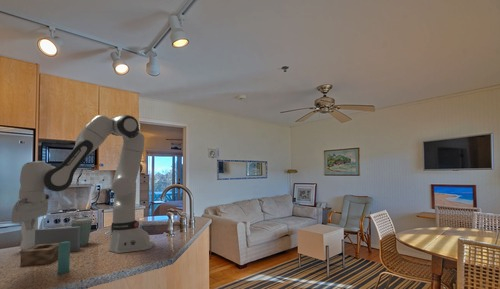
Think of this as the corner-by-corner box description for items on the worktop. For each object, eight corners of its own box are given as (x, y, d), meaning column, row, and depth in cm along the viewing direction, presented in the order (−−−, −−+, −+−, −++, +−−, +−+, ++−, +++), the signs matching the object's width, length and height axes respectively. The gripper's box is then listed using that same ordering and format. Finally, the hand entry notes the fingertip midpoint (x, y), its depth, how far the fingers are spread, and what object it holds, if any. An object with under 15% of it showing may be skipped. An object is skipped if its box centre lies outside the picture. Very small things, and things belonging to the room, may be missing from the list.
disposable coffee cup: (95, 241, 158) (96, 216, 159) (85, 247, 147) (85, 219, 149) (77, 242, 158) (78, 216, 159) (65, 247, 147) (66, 220, 148)
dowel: (70, 269, 114) (71, 240, 115) (66, 273, 110) (67, 243, 111) (60, 270, 113) (61, 241, 114) (55, 274, 109) (56, 244, 110)
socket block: (63, 254, 134) (63, 242, 134) (50, 263, 122) (51, 249, 123) (35, 256, 131) (36, 244, 132) (20, 265, 120) (20, 251, 120)
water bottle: (22, 253, 139) (25, 204, 141) (17, 251, 143) (20, 203, 145) (39, 249, 145) (41, 202, 147) (33, 247, 149) (35, 202, 151)
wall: (79, 249, 144) (80, 226, 145) (77, 250, 141) (78, 227, 142) (37, 252, 140) (38, 228, 141) (34, 254, 137) (35, 230, 138)
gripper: (25, 200, 109) (23, 234, 108) (51, 195, 129) (49, 224, 128) (7, 200, 108) (4, 235, 106) (36, 195, 128) (34, 225, 126)
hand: (29, 229), depth 117 cm, fingers closed
